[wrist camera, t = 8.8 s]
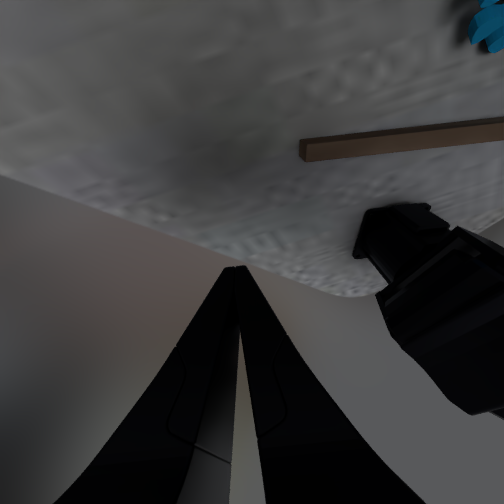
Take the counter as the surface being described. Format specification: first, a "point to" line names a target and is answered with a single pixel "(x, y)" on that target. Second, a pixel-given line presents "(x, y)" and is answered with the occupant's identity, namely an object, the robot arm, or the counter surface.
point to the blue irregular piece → (488, 25)
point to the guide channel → (402, 139)
